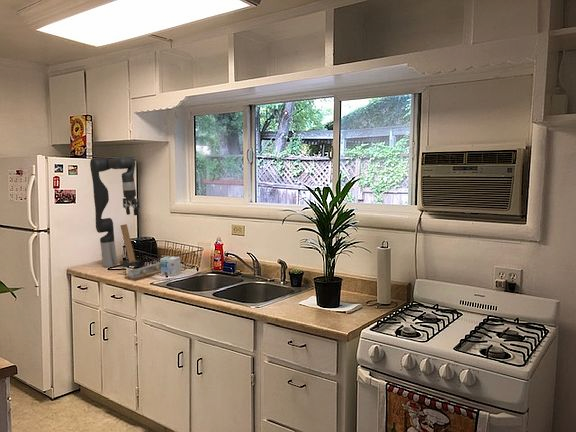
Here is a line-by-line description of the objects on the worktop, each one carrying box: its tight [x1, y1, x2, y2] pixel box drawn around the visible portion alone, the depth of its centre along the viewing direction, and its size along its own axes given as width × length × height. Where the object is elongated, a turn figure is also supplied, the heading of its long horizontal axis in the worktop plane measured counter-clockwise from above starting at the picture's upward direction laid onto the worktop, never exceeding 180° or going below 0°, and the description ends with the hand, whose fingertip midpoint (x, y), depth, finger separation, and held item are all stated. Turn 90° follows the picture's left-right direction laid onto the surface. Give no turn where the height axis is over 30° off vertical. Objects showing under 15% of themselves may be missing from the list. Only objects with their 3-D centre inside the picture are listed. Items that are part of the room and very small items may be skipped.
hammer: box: [119, 223, 146, 268], centre depth 322 cm, size 20×5×30 cm, turn 54°
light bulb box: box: [159, 256, 182, 277], centre depth 298 cm, size 11×7×11 cm, turn 72°
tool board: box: [124, 266, 161, 282], centre depth 302 cm, size 12×27×4 cm, turn 140°
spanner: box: [127, 261, 161, 277], centre depth 302 cm, size 5×25×4 cm, turn 140°
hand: (132, 214), depth 300 cm, fingers open, 8 cm apart
